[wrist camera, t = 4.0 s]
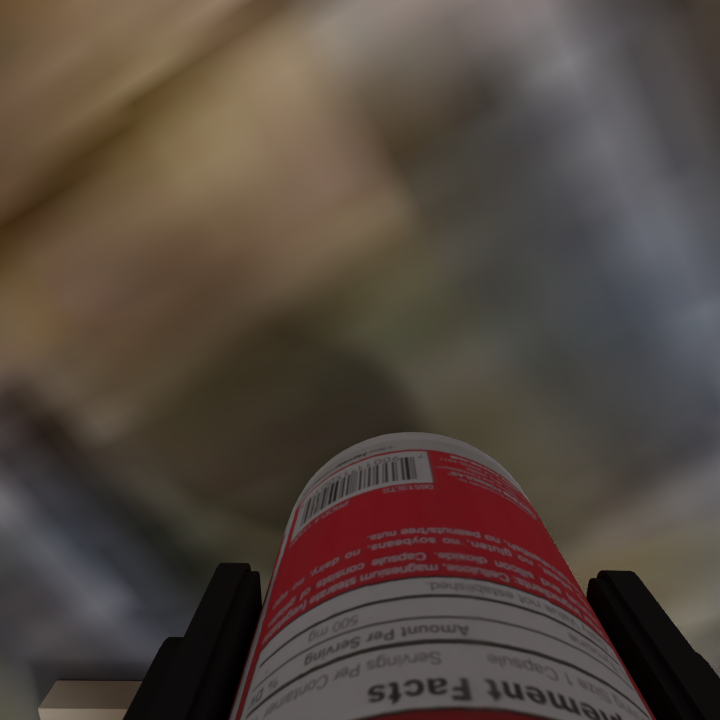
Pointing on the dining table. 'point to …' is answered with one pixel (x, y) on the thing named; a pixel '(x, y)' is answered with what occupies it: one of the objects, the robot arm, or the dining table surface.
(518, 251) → the dining table surface
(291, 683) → the pill bottle
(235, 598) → the robot arm
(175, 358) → the dining table surface
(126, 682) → the socket board
